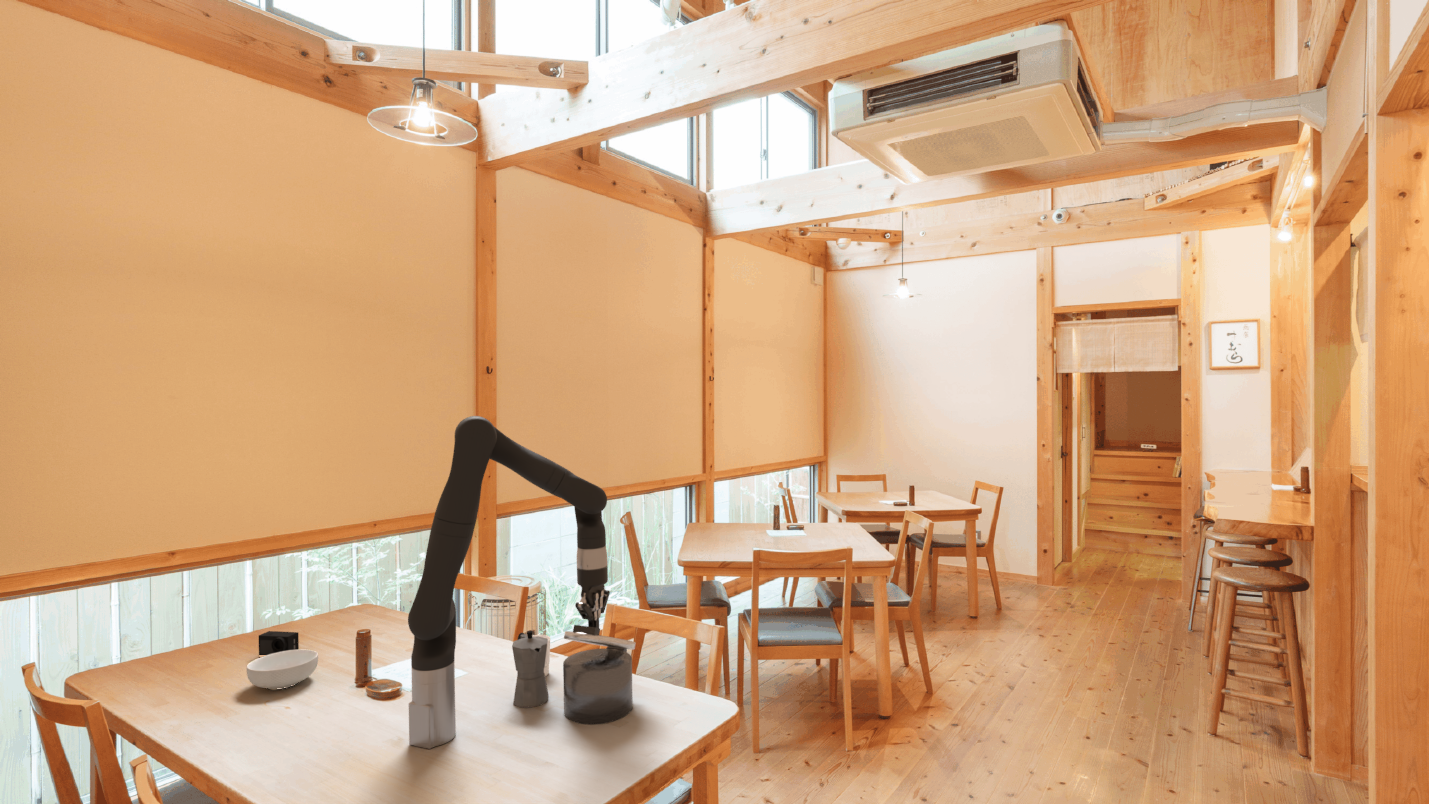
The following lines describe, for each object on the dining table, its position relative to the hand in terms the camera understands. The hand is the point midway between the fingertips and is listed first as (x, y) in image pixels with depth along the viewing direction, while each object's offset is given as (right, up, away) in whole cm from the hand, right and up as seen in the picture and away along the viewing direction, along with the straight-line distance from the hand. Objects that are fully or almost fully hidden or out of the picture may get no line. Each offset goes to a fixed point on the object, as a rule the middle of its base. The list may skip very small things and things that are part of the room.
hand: (594, 633), depth 171 cm
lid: (+1, -3, +3) cm, 4 cm away
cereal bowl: (-90, -21, +20) cm, 94 cm away
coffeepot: (-18, -20, +8) cm, 28 cm away
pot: (+1, -19, +1) cm, 19 cm away
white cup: (-20, -20, +24) cm, 37 cm away
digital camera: (-105, -21, +41) cm, 115 cm away
